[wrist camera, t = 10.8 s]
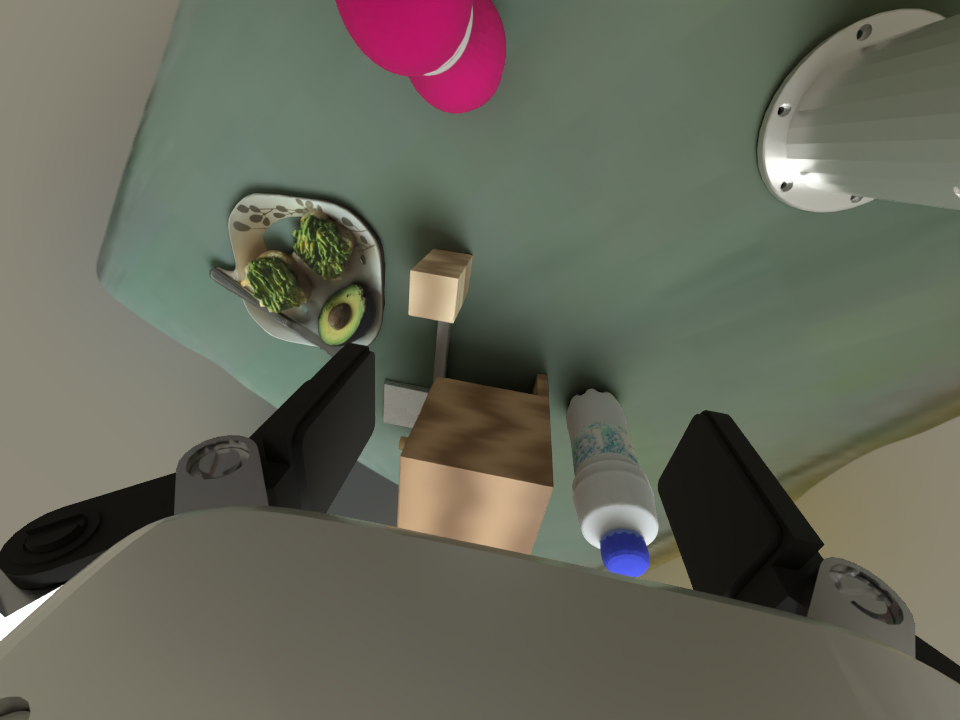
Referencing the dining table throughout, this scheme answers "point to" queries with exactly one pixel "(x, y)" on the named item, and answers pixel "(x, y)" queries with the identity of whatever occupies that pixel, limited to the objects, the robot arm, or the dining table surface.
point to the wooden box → (478, 465)
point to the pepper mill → (433, 46)
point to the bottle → (610, 484)
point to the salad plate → (307, 272)
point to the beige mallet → (440, 296)
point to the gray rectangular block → (403, 403)
